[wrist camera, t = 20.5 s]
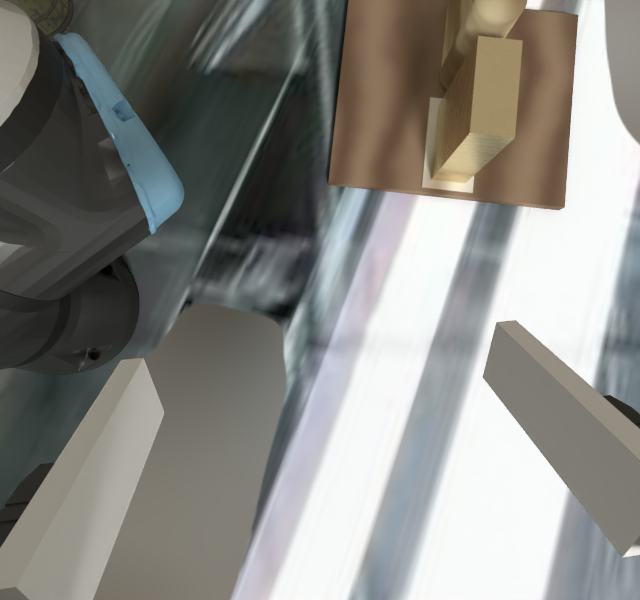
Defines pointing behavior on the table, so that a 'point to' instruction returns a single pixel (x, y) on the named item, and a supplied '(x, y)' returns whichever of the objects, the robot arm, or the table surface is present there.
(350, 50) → the mounting board
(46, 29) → the stone statue
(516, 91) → the tan wooden brick
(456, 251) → the table surface
